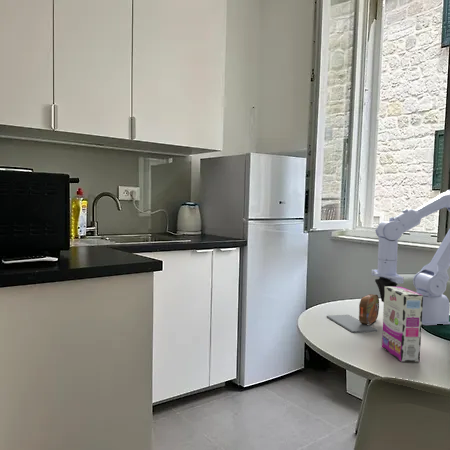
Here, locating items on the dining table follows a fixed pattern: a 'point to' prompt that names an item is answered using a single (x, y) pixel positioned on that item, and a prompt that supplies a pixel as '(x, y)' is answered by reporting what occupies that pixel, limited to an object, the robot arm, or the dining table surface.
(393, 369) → the dining table surface
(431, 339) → the dining table surface
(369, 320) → the tin
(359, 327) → the pad
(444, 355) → the dining table surface
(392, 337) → the candy bar box
